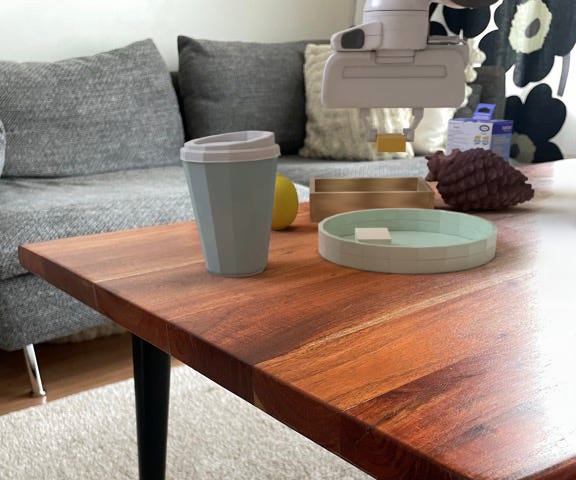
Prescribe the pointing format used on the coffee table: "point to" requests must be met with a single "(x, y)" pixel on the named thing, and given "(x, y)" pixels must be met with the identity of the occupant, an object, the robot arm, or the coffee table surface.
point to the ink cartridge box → (480, 133)
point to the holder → (366, 195)
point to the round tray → (409, 240)
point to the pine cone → (477, 180)
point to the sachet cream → (373, 236)
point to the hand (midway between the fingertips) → (389, 141)
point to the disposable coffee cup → (233, 198)
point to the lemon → (284, 203)
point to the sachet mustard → (390, 142)
